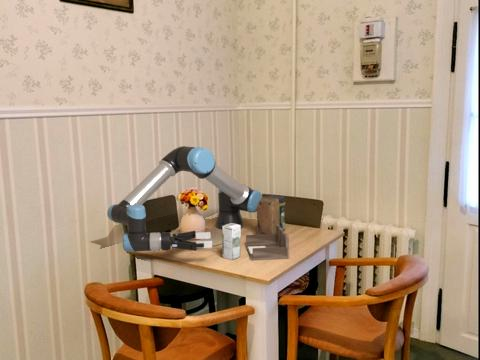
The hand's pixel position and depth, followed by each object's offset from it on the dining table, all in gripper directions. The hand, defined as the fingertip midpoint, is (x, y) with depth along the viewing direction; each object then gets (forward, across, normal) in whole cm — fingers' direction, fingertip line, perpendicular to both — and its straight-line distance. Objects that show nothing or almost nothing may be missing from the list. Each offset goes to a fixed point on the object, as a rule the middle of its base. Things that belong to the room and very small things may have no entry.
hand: (211, 239), depth 191 cm
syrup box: (+9, 0, -9) cm, 12 cm away
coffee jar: (+36, -43, -9) cm, 57 cm away
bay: (+25, -6, -8) cm, 27 cm away
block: (+30, -29, -9) cm, 42 cm away
